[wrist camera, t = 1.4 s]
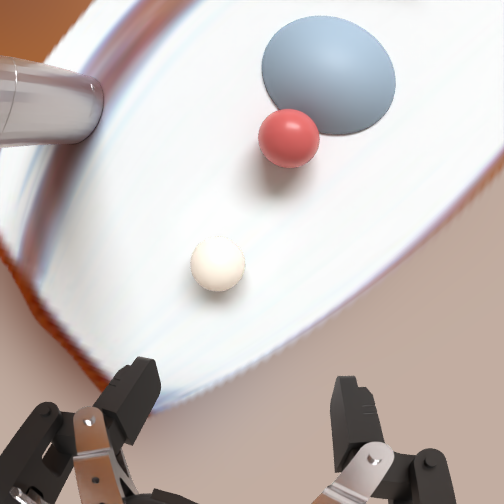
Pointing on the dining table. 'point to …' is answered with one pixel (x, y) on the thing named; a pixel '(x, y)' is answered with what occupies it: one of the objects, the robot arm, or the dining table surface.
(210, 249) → the cue ball
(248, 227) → the dining table surface
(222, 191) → the dining table surface
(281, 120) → the red ball
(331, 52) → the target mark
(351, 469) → the robot arm
